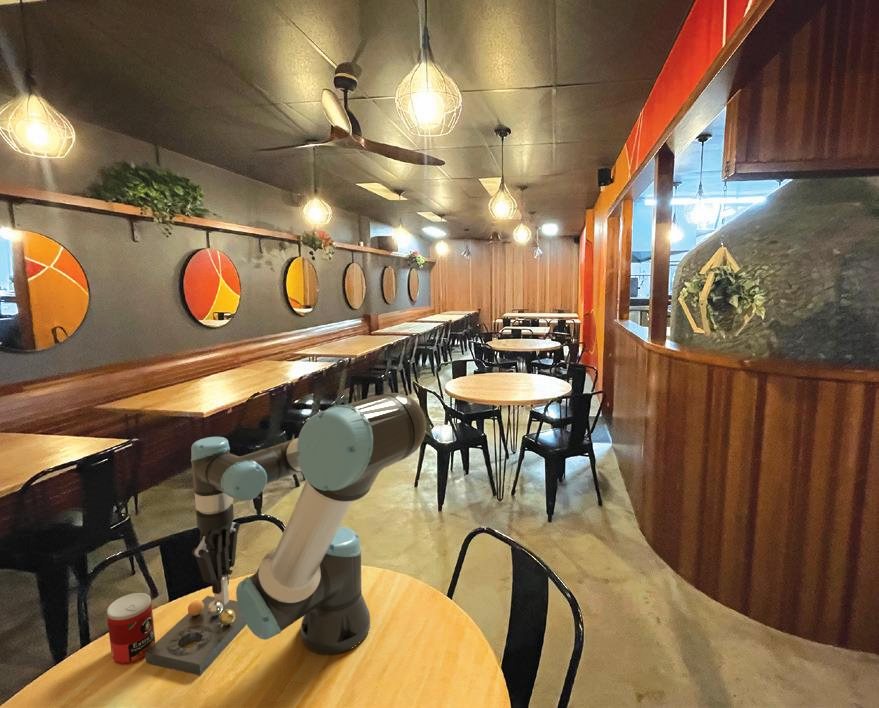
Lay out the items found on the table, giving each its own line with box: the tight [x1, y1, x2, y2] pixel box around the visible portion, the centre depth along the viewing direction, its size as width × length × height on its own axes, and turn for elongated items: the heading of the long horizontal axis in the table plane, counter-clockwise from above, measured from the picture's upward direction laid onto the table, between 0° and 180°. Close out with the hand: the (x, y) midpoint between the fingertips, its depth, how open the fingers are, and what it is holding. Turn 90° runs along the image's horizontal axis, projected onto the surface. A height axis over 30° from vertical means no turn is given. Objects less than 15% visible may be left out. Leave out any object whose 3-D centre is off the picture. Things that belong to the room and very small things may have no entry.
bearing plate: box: [144, 595, 247, 676], centre depth 103 cm, size 13×18×2 cm
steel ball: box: [207, 600, 223, 616], centre depth 107 cm, size 3×3×3 cm
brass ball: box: [219, 609, 235, 626], centre depth 104 cm, size 3×3×3 cm
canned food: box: [106, 592, 156, 666], centre depth 99 cm, size 8×8×11 cm
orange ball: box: [187, 599, 204, 616], centre depth 107 cm, size 3×3×3 cm
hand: (221, 602), depth 109 cm, fingers closed
